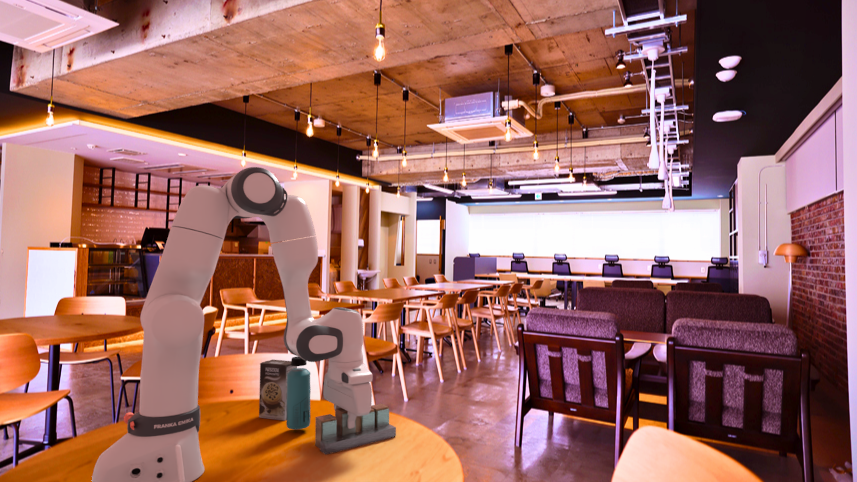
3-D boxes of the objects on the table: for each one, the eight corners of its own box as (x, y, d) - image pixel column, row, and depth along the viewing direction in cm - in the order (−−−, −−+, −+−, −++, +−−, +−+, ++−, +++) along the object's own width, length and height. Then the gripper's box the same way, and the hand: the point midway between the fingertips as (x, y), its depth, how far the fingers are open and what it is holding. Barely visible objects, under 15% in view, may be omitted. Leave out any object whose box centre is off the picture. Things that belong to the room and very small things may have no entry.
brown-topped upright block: (342, 440, 120) (342, 412, 120) (334, 436, 123) (335, 408, 123) (356, 437, 122) (356, 409, 122) (348, 433, 125) (349, 406, 125)
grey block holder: (325, 454, 113) (325, 424, 114) (313, 445, 119) (313, 417, 119) (395, 436, 125) (395, 409, 126) (381, 429, 131) (382, 403, 131)
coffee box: (257, 418, 140) (258, 362, 141) (271, 411, 146) (272, 358, 147) (284, 421, 138) (285, 364, 139) (296, 414, 144) (297, 360, 145)
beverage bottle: (303, 436, 125) (305, 359, 126) (280, 434, 127) (282, 358, 128) (314, 427, 132) (315, 355, 133) (292, 426, 133) (293, 354, 134)
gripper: (317, 365, 130) (317, 416, 129) (353, 379, 113) (352, 438, 112) (338, 362, 133) (338, 412, 133) (376, 375, 117) (375, 433, 116)
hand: (345, 424), depth 122 cm, fingers closed on brown-topped upright block, 4 cm apart
